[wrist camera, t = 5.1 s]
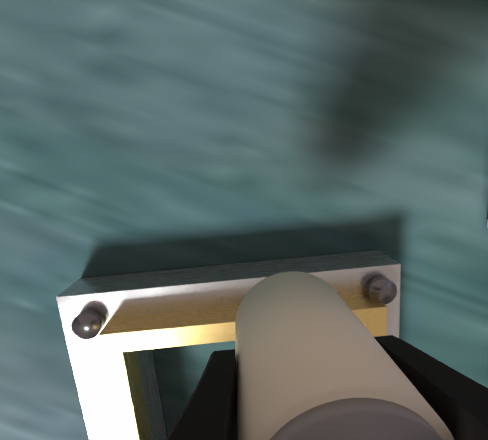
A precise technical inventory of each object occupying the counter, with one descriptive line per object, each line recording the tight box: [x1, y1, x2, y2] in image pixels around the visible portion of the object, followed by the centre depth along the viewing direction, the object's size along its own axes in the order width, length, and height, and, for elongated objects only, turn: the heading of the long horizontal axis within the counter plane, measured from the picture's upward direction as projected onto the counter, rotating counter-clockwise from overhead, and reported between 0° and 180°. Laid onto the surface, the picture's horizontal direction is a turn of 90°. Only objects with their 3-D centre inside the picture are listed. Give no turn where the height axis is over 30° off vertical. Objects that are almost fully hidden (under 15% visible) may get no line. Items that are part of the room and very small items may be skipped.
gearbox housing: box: [56, 250, 401, 440], centre depth 18 cm, size 18×15×4 cm
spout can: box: [235, 271, 454, 440], centre depth 7 cm, size 4×4×7 cm
